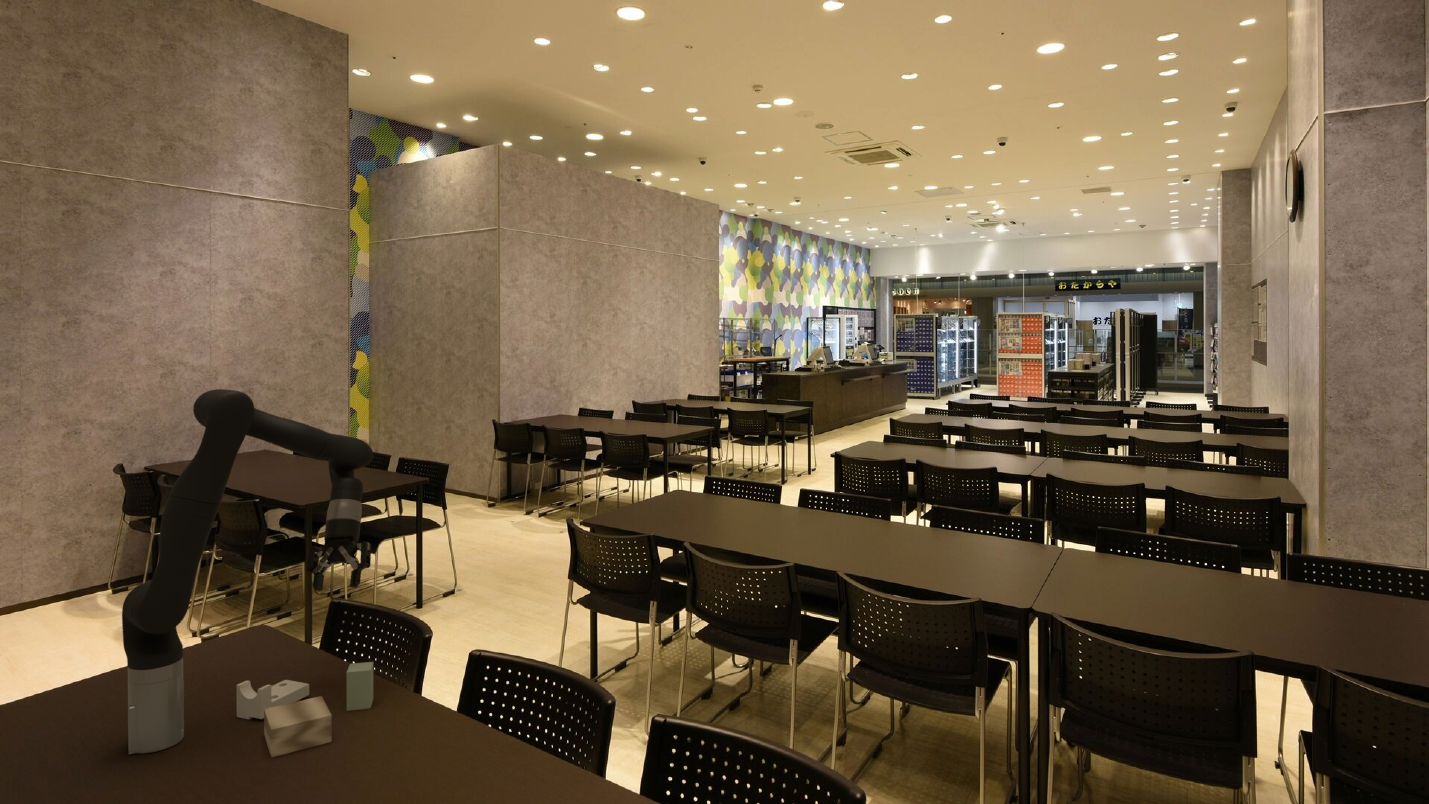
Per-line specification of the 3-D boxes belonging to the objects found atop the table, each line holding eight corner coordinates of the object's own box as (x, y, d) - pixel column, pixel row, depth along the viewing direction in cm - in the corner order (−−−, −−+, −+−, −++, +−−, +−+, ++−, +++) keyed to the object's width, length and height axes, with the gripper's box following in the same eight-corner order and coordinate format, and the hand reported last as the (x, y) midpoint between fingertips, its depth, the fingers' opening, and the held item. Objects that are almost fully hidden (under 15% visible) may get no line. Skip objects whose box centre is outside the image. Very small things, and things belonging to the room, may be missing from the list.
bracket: (261, 723, 165) (261, 689, 165) (236, 718, 167) (236, 685, 167) (309, 698, 178) (309, 667, 177) (285, 694, 180) (285, 663, 180)
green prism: (346, 710, 172) (346, 672, 171) (350, 701, 176) (350, 663, 176) (370, 708, 173) (370, 670, 173) (373, 698, 178) (373, 661, 177)
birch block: (271, 758, 151) (271, 729, 151) (264, 736, 160) (264, 708, 159) (331, 743, 158) (331, 715, 157) (321, 722, 166) (321, 696, 166)
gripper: (306, 520, 178) (296, 589, 172) (364, 514, 177) (357, 583, 171) (323, 527, 185) (315, 594, 178) (380, 521, 184) (373, 588, 178)
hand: (336, 588), depth 175 cm, fingers open, 8 cm apart
